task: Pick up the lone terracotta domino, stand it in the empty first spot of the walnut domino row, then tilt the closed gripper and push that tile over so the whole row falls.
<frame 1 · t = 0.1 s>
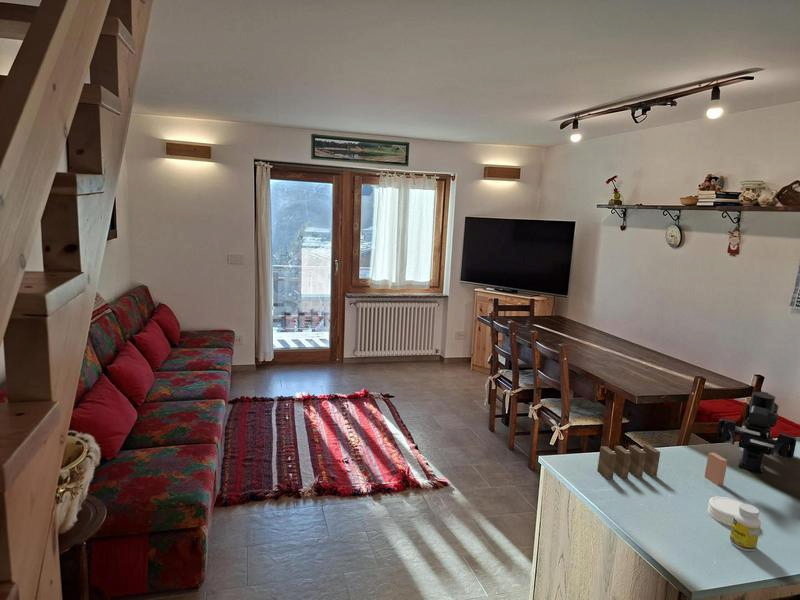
hand: (752, 448, 143), 15 cm above the counter, tool horizontal, fingers open, 9 cm apart
medicine box: (750, 454, 176), on the counter, touching arm
walnut domino 5: (604, 474, 155), on the counter
white rounded piece: (728, 518, 136), on the counter
supplement bottle: (742, 545, 124), on the counter
walnut domino 4: (619, 474, 156), on the counter
terracotta domino: (713, 480, 155), on the counter
walnut domino 2: (648, 472, 158), on the counter
walnut domino 3: (633, 473, 157), on the counter
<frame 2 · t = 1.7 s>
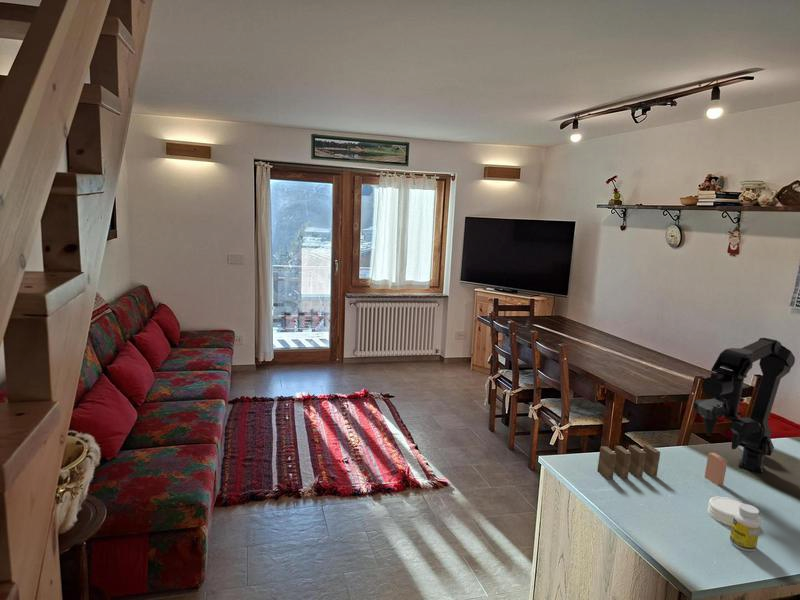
hand: (720, 442, 153), 13 cm above the counter, tool pointing down, fingers open, 9 cm apart
medicine box: (750, 454, 176), on the counter
everything else where it was.
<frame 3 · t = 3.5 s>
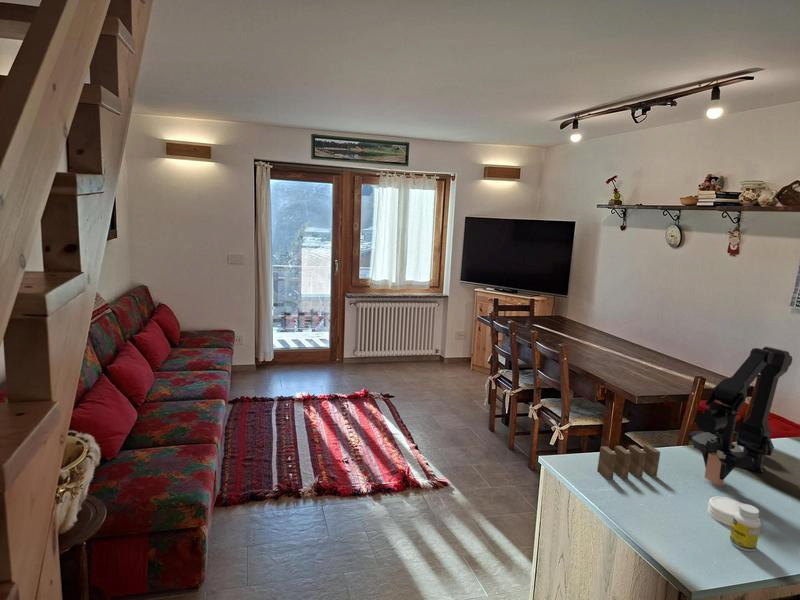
hand: (714, 474, 155), 2 cm above the counter, tool pointing down, fingers closed on terracotta domino, 5 cm apart
terracotta domino: (713, 480, 155), on the counter, touching gripper
everything else where it was.
when the fingers open (3 cm above the counter, at t = 8.6 s): terracotta domino drops 1 cm, on the counter.
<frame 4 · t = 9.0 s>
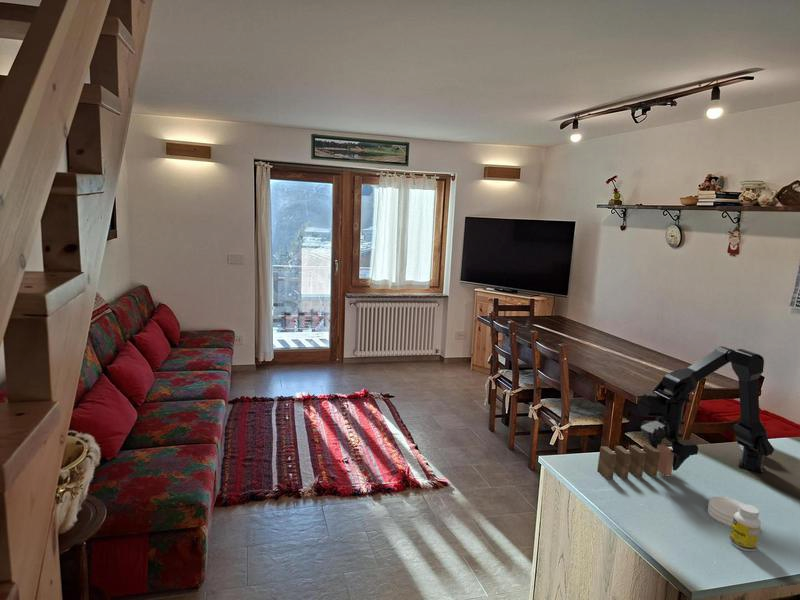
hand: (663, 462, 158), 3 cm above the counter, tool pointing down, fingers open, 9 cm apart
terracotta domino: (662, 471, 159), on the counter
everything else where it was.
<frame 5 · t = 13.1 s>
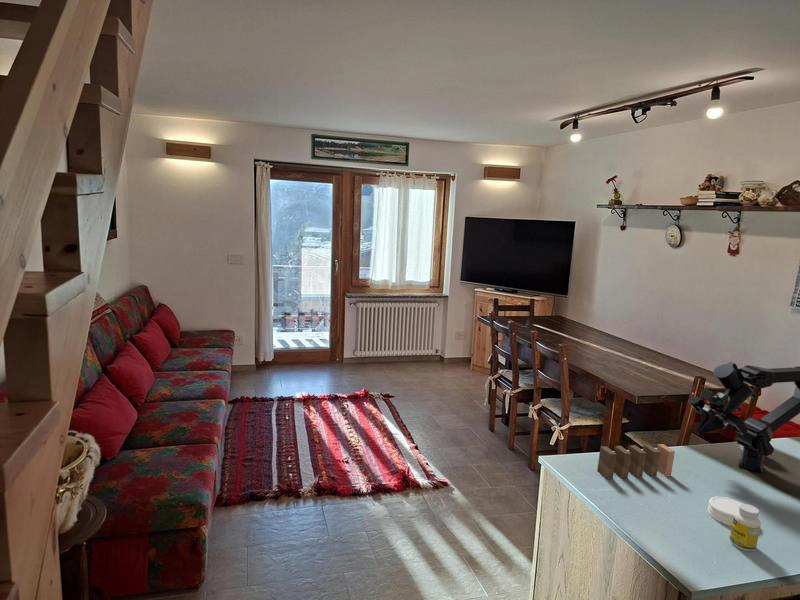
hand: (697, 433, 159), 12 cm above the counter, tool tilted 45°, fingers closed
nothing on the counter moved.
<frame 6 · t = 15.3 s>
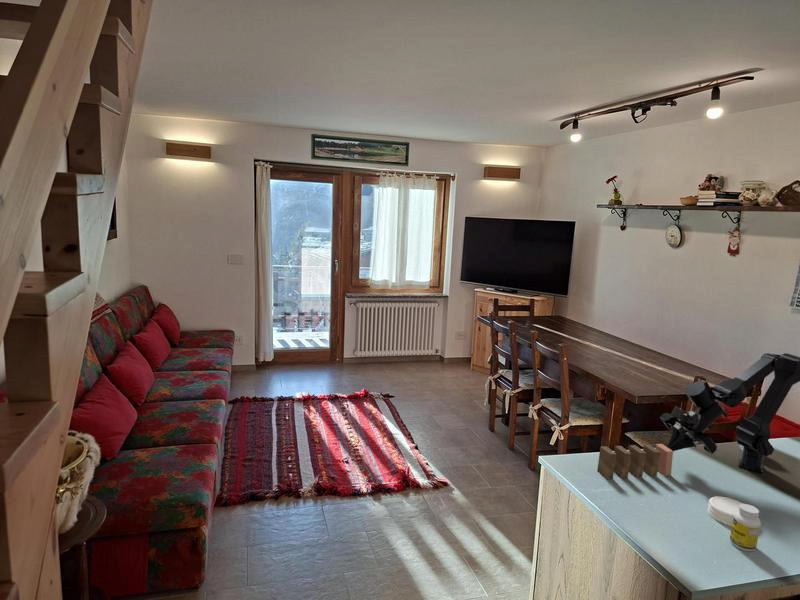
hand: (667, 450, 158), 7 cm above the counter, tool tilted 45°, fingers closed
terracotta domino: (662, 471, 159), on the counter, touching gripper
everything else where it was.
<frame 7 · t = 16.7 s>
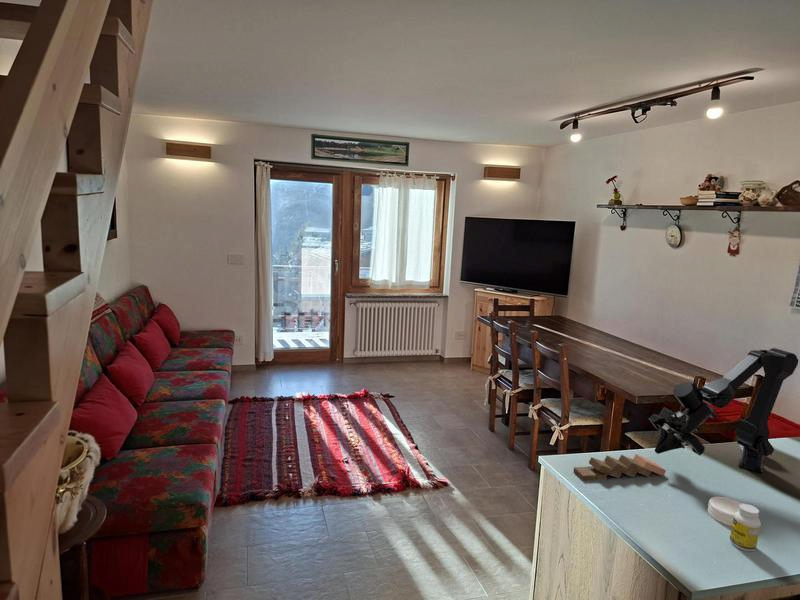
hand: (655, 452, 157), 7 cm above the counter, tool tilted 45°, fingers closed
walnut domino 5: (601, 473, 154), point 1 cm above the counter, tilted 90°
walnut domino 4: (615, 471, 155), point 1 cm above the counter, tilted 69°, touching walnut domino 3
terracotta domino: (659, 469, 158), point 1 cm above the counter, tilted 67°, touching walnut domino 2
walnut domino 2: (644, 469, 157), point 1 cm above the counter, tilted 67°, touching terracotta domino, walnut domino 3
walnut domino 3: (630, 470, 156), point 1 cm above the counter, tilted 67°, touching walnut domino 2, walnut domino 4
everything else where it was.
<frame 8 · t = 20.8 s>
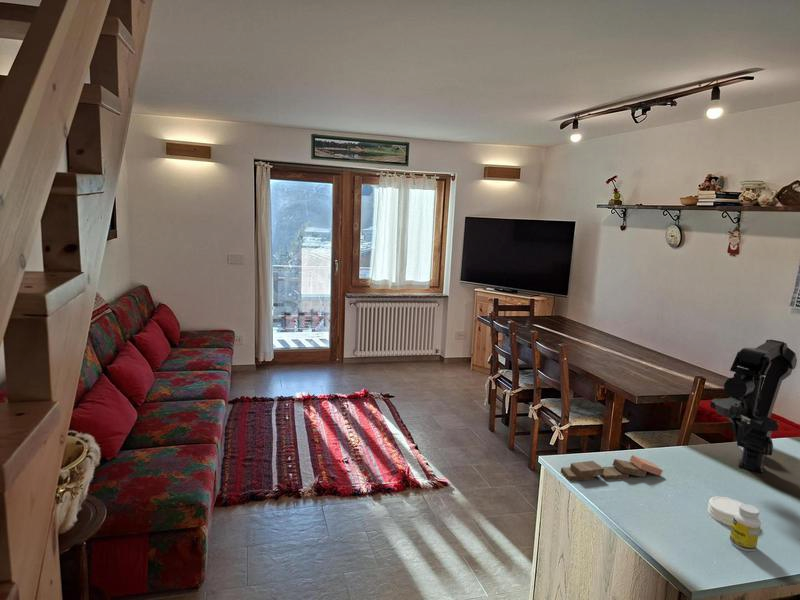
hand: (737, 440, 153), 13 cm above the counter, tool pointing down, fingers closed
walnut domino 5: (589, 474, 154), on the counter, tilted 90°, touching walnut domino 4
walnut domino 4: (597, 467, 154), point 2 cm above the counter, tilted 90°, touching walnut domino 5
terracotta domino: (655, 469, 158), point 1 cm above the counter, tilted 69°, touching walnut domino 2
walnut domino 2: (640, 470, 157), point 1 cm above the counter, tilted 77°, touching terracotta domino
walnut domino 3: (623, 473, 156), on the counter, tilted 90°
everything else where it was.
at the end: terracotta domino inside the target area (1.5 cm from its centre), point 0.9 cm above the counter; terracotta domino tilted 70°; walnut domino 5 tilted 90° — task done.
